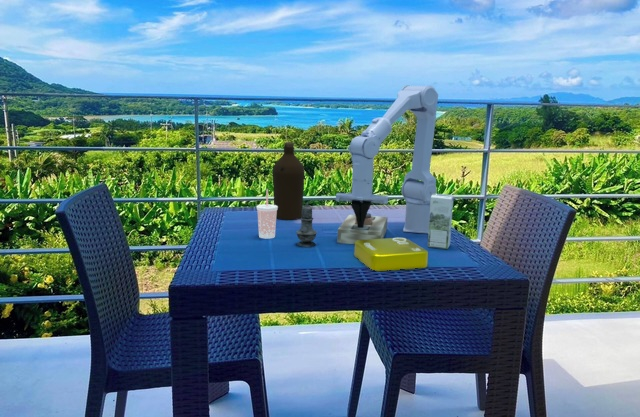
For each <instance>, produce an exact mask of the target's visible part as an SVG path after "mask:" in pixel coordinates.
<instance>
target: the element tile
mask: <svg viewBox="0 0 640 417" xmlns="http://www.w3.org/2000/svg"><path fill="white" fill-rule="evenodd" d="M353 255H354V257H355V259H357V258H358V259H359V260H358V259H357V260H358V261H359V262H361V264H363V263H364V264H365V265H364V264H363V265H364V266H365V267H366V268H368V267H369V268H370V269H369V268H368V269H369V270H371V269H372V270H371V271H373V270H375V271H374V272H389V270H391V271H401V270H400V269H405V270H414V269H415V268H418V269H425V268H427V267H428V259H429V252H428V250H426V249H425V248H424V247H421V246H420V245H418V244H417V243H415V242H414V241H411V240H410V239H407V238H406V237H389V238H387V237H386V238H383V239H368V240H357V241H355V244H354V254H353ZM387 270H388V271H387ZM415 270H416V269H415Z"/></svg>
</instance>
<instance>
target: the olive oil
mask: <svg viewBox="0 0 640 417" xmlns="http://www.w3.org/2000/svg"><path fill="white" fill-rule="evenodd" d="M294 144H295V143H294V142H291V141H290V142H288V141H287V142H284V143H283V145H284V146H283V154H282V156H280V158H279V159H278V160H277V161H276V162H275V164H274V165H273V168H272V187H273V205H276V206H278V208H277V214H276V220H277V219H278V220H282V221H283V220H284V221H285V220H286V221H294V220H295V221H296V220H301V219H300V218H301V217H302V207H303V206H304V205H303V204H304V202H303V201H304V189H305V188H304V186H305V175H306V174H305V171H306V170H305V166H304V165H303V163H302V161H301V160H299V159H298V158H297V156H296V155H295V146H294Z"/></svg>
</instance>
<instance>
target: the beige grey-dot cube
mask: <svg viewBox="0 0 640 417" xmlns="http://www.w3.org/2000/svg"><path fill="white" fill-rule="evenodd" d="M372 216H373V215H372V214H371V213H368V212H367V215H366V218H365V221H364V225H372ZM355 224H357V219H356V221H355Z"/></svg>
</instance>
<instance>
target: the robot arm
mask: <svg viewBox="0 0 640 417" xmlns="http://www.w3.org/2000/svg"><path fill="white" fill-rule="evenodd" d="M438 100H439V93H438V91H436V88H435V87H433V86H432V85H404V86H403V87H401V89H400V90H399V91H398V92H397V97H396V99H395V101H393V103H392V104H391V106H390V107H388V110H386V112H385V113H384V115H383V116H382V117H376V118H373V119H371V123H370V124H369V125H368V126H367V127H366V129H365V130H363V131H362V132H361V134H360V135H358V136H355V137H354V138H352V139H351V140H350V141H351V142H350V143H349V144H350V145H348V152H349V154H350V155H351V156H350V157H351V162H352V173H351V174H352V177H351V178H352V180H351V192H349V193H348V192H347V193H346V192H344V193H343V192H337V193H336V194H335V201H336V202H340V201H341V202H342V201H343V202H351V204H350V205H351V208H352V210H353V213H354V215H355V216H356V219H357V224H358V228H363V226H364V221H365V218H366V215H367V213H368V212H369V210H370V208H371V206H372V204H373V203H375V204H384V205H387V204H388V203H389V196H388V195H378V194H373V184H374V160H375V159H374V158H375V157H376V156H377V155H378V154H379V151H380V147H381V146H382V142H383V141H384V140H385V139H386V138H387V137H388V136H389V135H390V134H391V133H392V129H393V128H392V126H393V125H394V123H396V122H397V121H398V120H399V119H400V118H401V117H402V116H403V115H404V114H405V113H406V112H407V111H410V112H411V113H413V115H414V116H415V117H416V119H417V120H416V127H415V128H416V129H415V136H414V146H413V153H412V155H413V156H412V162H411V170H409V171H408V172H407V173H406V174H405V175H404V179H403V183H402V185H401V195H402V197H403V198H404V201H405V217H404V218H405V220H404V221H405V222H404V226H403V229H402V232H405V233H418V234H428V232H429V216H430V200H431V196H432V194H438V193H437V186H436V183H437V179H436V176H434V175H433V174H432V173H431V172H430V170H431V162H432V152H433V144H434V136H435V129H436V128H435V127H436V119H437V118H436V117H437V109H438V102H439V101H438Z"/></svg>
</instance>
